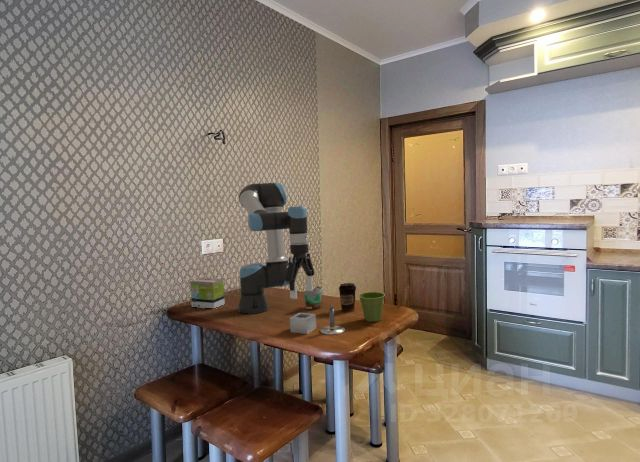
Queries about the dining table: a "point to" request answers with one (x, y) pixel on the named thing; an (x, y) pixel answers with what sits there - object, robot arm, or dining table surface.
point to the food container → (313, 298)
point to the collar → (303, 323)
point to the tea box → (207, 293)
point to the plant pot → (372, 305)
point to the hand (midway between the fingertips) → (301, 294)
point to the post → (332, 325)
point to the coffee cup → (347, 296)
